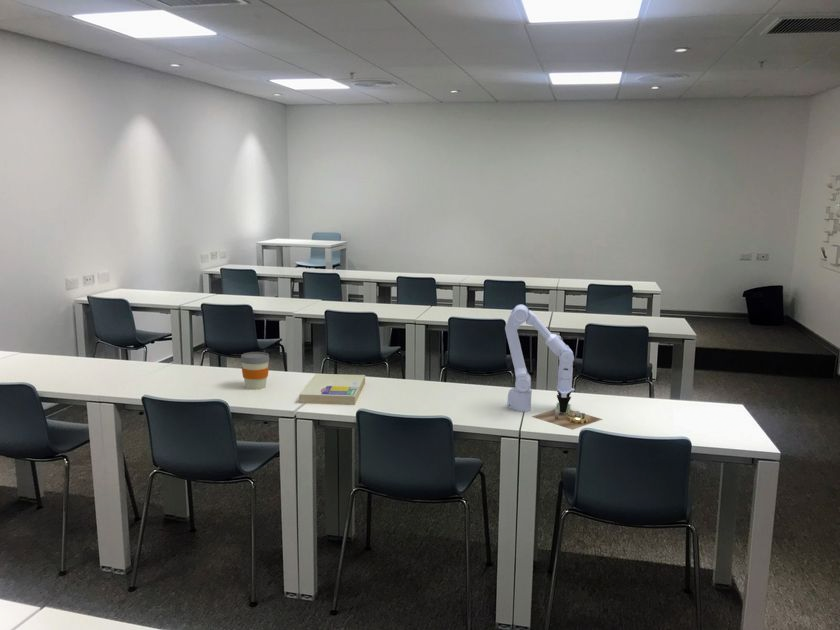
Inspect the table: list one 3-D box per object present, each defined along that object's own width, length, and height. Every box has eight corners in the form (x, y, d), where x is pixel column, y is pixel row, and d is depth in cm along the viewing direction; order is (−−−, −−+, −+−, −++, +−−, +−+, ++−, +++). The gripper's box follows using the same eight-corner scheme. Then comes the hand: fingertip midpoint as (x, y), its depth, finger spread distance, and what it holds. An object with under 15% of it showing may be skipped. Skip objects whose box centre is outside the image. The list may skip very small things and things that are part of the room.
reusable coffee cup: (271, 383, 316) (271, 351, 314) (267, 390, 304) (266, 358, 302) (244, 383, 316) (243, 351, 313) (238, 390, 303) (238, 357, 301)
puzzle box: (365, 384, 321) (315, 382, 322) (366, 374, 320) (315, 372, 321) (354, 407, 285) (297, 404, 286) (354, 396, 285) (297, 394, 286)
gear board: (531, 418, 272) (531, 407, 271) (561, 409, 285) (562, 399, 284) (572, 432, 257) (573, 420, 256) (602, 421, 270) (603, 410, 269)
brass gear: (561, 419, 268) (561, 411, 268) (574, 415, 274) (575, 407, 274) (580, 425, 262) (580, 416, 261) (593, 421, 268) (594, 412, 267)
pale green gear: (553, 411, 279) (553, 403, 279) (561, 408, 283) (562, 401, 282) (564, 414, 275) (564, 407, 275) (572, 412, 279) (573, 404, 278)
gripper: (575, 383, 269) (573, 416, 271) (575, 374, 283) (573, 405, 285) (556, 381, 270) (555, 414, 272) (557, 373, 284) (556, 404, 286)
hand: (563, 410), depth 279 cm, fingers closed on pale green gear, 6 cm apart
